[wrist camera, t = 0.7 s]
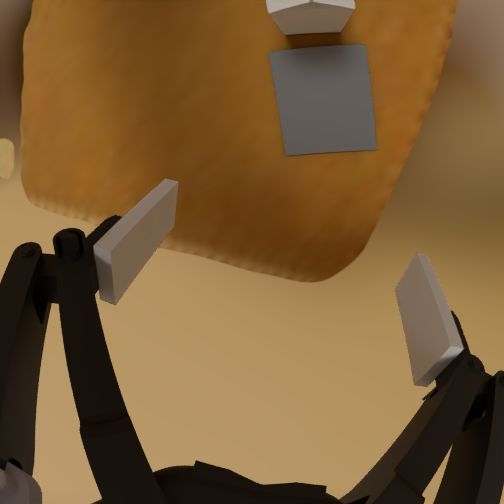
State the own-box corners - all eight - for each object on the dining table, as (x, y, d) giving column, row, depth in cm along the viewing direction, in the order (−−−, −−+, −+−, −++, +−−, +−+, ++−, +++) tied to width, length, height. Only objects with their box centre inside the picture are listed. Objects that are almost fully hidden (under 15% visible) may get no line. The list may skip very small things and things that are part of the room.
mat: (269, 52, 34) (268, 52, 33) (363, 44, 31) (364, 44, 30) (286, 154, 41) (285, 155, 40) (375, 148, 38) (376, 149, 37)
